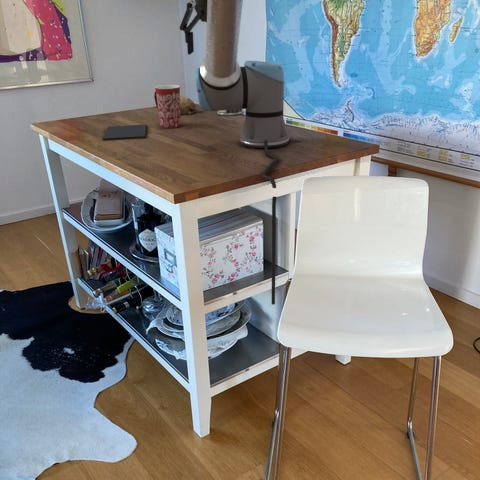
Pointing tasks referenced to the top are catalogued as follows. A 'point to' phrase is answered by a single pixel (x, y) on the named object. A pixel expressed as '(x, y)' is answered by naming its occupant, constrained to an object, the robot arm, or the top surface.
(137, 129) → the mat
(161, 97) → the mug
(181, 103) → the bread roll
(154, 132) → the top surface
